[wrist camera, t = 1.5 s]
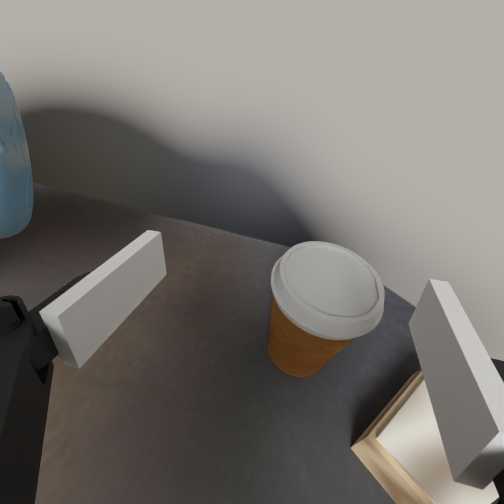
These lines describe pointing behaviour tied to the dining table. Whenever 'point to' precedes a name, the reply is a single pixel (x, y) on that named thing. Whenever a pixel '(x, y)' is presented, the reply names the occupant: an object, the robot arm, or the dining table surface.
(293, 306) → the disposable coffee cup
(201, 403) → the dining table surface
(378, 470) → the plinth
